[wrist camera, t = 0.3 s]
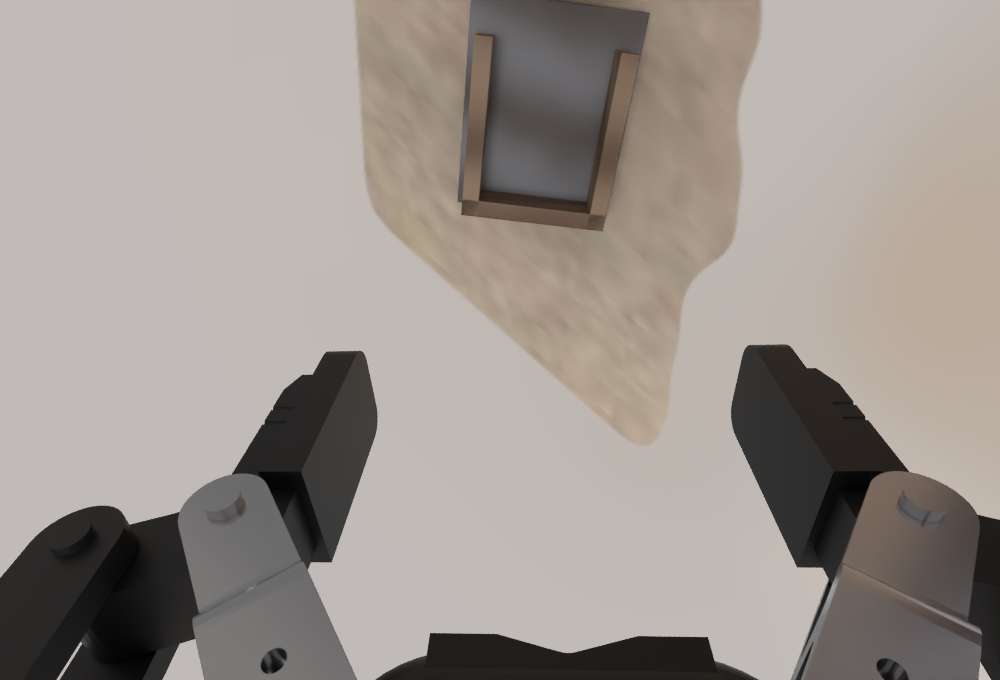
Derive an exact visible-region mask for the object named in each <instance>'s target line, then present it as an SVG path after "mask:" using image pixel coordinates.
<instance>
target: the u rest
mask: <svg viewBox="0 0 1000 680" xmlns="http://www.w3.org/2000/svg"><path fill="white" fill-rule="evenodd" d="M648 18H649V13H647V12H639V11H631V10H623V9H615V8H607V7H598V6H590V5H582V4H574V3H566V2H558V1H550V0H471V11H470V26H469V41H468V56H467V71H466V86H465V101H464V115H463V130H462V145H461V160H460V175H459V190H458V202H462V214H461V215H468V216H476V217H485V218H493V219H502V220H511V221H519V222H528V223H536V224H545V225H554V226H562V227H571V228H580V229H588V230H597V231H603V227H604V223H605V219H606V215H607V210H608V206H609V201H610V196H611V191H612V187H613V182H614V177H615V173H616V168H617V163H618V159H619V154H620V149H621V144H622V140H623V135H624V130H625V126H626V121H627V116H628V112H629V107H630V102H631V97H632V93H633V88H634V83H635V79H636V74H637V69H638V65H639V60H640V55H641V50H642V46H643V41H644V36H645V32H646V27H647V22H648Z"/></svg>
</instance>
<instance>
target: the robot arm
mask: <svg viewBox="0 0 1000 680" xmlns="http://www.w3.org/2000/svg"><path fill="white" fill-rule="evenodd" d="M731 418H732V425H733V430H734V433H735V435H736V438H737V440H738V442H739V444H740V446H741V448H742V450H743V453H744V455H745V457H746V459H747V461H748V463H749V465H750V467H751V469H752V472H753V474H754V476H755V478H756V480H757V482H758V484H759V487H760V489H761V491H762V493H763V495H764V497H765V500H766V502H767V504H768V506H769V508H770V510H771V512H772V514H773V517H774V519H775V521H776V523H777V525H778V527H779V529H780V532H781V533H782V536H783V538H784V540H785V542H786V544H787V546H788V549H789V551H790V553H791V555H792V557H793V559H794V561H795V564H796V566H797V567H821V568H823V569H824V571H825V573H826V575H827V577H828V578H829V580H828V582H827V584H826V586H825V589H824V591H823V594H822V597H821V599H820V602H819V605H818V607H817V610H816V613H815V616H814V618H813V621H812V624H811V627H810V629H809V632H808V635H807V638H806V640H805V643H804V646H803V648H802V651H801V654H800V657H799V659H798V662H797V665H796V668H795V670H794V673H793V675H792V678H791V680H978V677H979V667H980V662H981V664H982V665H983V667H984V668H985V670H986V672H987V673H988V675H989V677H990V678H991V680H1000V520H997V519H993V518H988V517H984V516H980V515H977V513H976V512H975V510H974V509H973V507H972V506H971V505H970V504H969V503H968V502H967V501H966V500H965V499H964V498H963V497H962V496H961V495H959V494H958V493H957V492H956V491H954V490H953V489H951V488H949V487H948V486H946V485H944V484H942V483H940V482H938V481H936V480H934V479H931V478H929V477H926V476H923V475H919V474H915V473H911V472H909V471H908V470H907V468H906V467H905V466H904V465H903V463H902V462H901V461H900V460H899V458H898V457H897V456H896V455H895V453H894V452H893V451H892V450H891V448H890V447H889V446H888V445H887V443H886V442H885V441H884V440H883V438H882V437H881V436H880V435H879V433H878V432H877V431H876V429H875V428H874V427H873V426H872V424H871V423H870V422H869V421H868V420H865V416H864V414H863V413H862V412H861V411H860V409H859V408H858V407H857V406H856V405H853V401H852V399H851V398H850V397H849V395H848V394H847V393H846V392H845V390H844V389H843V388H842V387H841V385H840V384H839V383H837V382H836V381H834V380H833V379H831V378H830V377H828V376H827V375H825V374H824V373H822V372H821V371H819V370H818V369H816V368H806V367H805V365H804V364H803V363H802V361H801V360H800V359H799V357H798V356H797V355H796V353H795V352H794V350H793V349H792V348H791V347H790V346H788V345H749V346H747V347H746V348H745V350H744V353H743V356H742V361H741V366H740V370H739V374H738V379H737V383H736V388H735V392H734V397H733V401H732V407H731ZM376 429H377V408H376V403H375V398H374V393H373V388H372V384H371V379H370V374H369V370H368V365H367V360H366V357H365V355H364V353H363V352H362V351H339V352H326V353H325V354H324V355H323V357H322V359H321V361H320V363H319V364H318V366H317V368H316V370H315V371H314V373H313V375H302V376H300V377H299V378H298V379H297V380H295V381H294V382H293V383H292V384H290V385H289V386H288V387H287V388H286V389H284V390H283V392H282V394H281V395H280V397H279V398H278V400H277V402H276V403H275V405H274V407H273V410H271V412H270V413H269V415H268V416H267V418H266V420H265V424H264V425H262V426H261V428H260V429H259V431H258V433H257V434H256V436H255V438H254V439H253V441H252V442H251V444H250V446H249V447H248V449H247V451H246V453H245V454H244V456H243V457H242V459H241V460H240V462H239V464H238V465H237V467H236V468H235V470H234V472H233V473H232V475H228V476H224V477H222V478H219V479H216V480H214V481H212V482H210V483H208V484H206V485H205V486H203V487H202V488H200V489H199V490H198V491H196V492H195V493H194V494H193V495H192V496H191V497H190V498H189V499H188V500H187V501H186V502H185V504H184V505H183V507H182V509H181V511H180V512H178V513H175V514H171V515H167V516H163V517H159V518H155V519H151V520H147V521H143V522H139V523H135V524H131V525H129V524H128V522H127V520H126V518H125V517H124V515H123V514H122V512H121V511H120V510H118V509H117V508H114V507H110V506H94V507H89V508H85V509H82V510H78V511H76V512H73V513H71V514H69V515H66V516H65V517H63V518H61V519H59V520H57V521H56V522H54V523H52V524H51V525H49V526H48V527H47V528H45V529H44V530H43V531H41V532H40V533H39V534H38V535H37V536H36V537H35V538H34V539H33V540H32V541H31V542H30V543H29V545H28V546H27V547H26V548H25V549H24V550H23V552H22V553H21V554H20V555H19V557H18V558H17V559H16V560H15V561H14V563H13V564H12V565H11V566H10V567H9V569H8V570H7V571H6V572H5V573H4V574H3V576H2V577H1V578H0V680H56V679H57V678H58V676H59V675H60V673H61V671H62V670H63V668H64V667H65V665H66V664H67V662H68V660H69V659H70V657H71V655H72V654H73V652H74V651H75V649H76V648H77V646H78V645H79V643H80V641H81V642H82V645H81V647H80V648H79V650H78V652H77V653H76V655H75V657H74V658H73V660H72V661H71V663H70V664H69V666H68V668H67V669H66V671H65V672H64V674H63V676H62V677H61V679H60V680H162V679H163V677H164V675H165V673H166V671H167V669H168V667H169V664H170V662H171V660H172V658H173V656H174V654H175V652H176V650H177V648H178V646H179V643H183V642H186V641H189V640H193V639H196V644H197V648H198V653H199V657H200V662H201V666H202V671H203V675H204V680H357V678H356V676H355V674H354V672H353V669H352V667H351V665H350V663H349V661H348V658H347V656H346V655H345V652H344V650H343V648H342V645H341V643H340V641H339V639H338V636H337V634H336V632H335V630H334V628H333V625H332V623H331V621H330V619H329V617H328V614H327V612H326V610H325V608H324V605H323V603H322V601H321V599H320V597H319V594H318V592H317V590H316V588H315V586H314V583H313V581H312V579H311V577H310V575H309V573H308V568H309V565H310V563H311V562H332V559H333V557H334V554H335V551H336V548H337V545H338V542H339V539H340V536H341V533H342V531H343V528H344V525H345V522H346V519H347V516H348V513H349V510H350V507H351V504H352V501H353V499H354V496H355V493H356V490H357V487H358V484H359V481H360V478H361V475H362V473H363V469H364V467H365V464H366V461H367V458H368V455H369V452H370V449H371V446H372V444H373V440H374V438H375V434H376ZM376 680H758V679H756V678H754V677H752V676H750V675H749V674H747V673H745V672H743V671H741V670H738V669H735V668H733V667H730V666H728V665H725V664H723V663H719V662H716V661H714V658H713V654H712V651H711V647H710V643H709V640H708V637H650V636H649V637H648V636H638V637H633V638H630V639H626V640H622V641H618V642H614V643H610V644H606V645H602V646H599V647H595V648H591V649H587V650H583V651H579V652H575V653H562V652H558V651H554V650H551V649H547V648H544V647H540V646H536V645H533V644H530V643H526V642H522V641H519V640H515V639H512V638H508V637H505V636H501V635H498V634H449V633H448V634H446V633H445V634H444V633H441V634H440V633H430V638H429V645H428V651H427V656H423V657H420V658H416V659H414V660H412V661H409V662H406V663H404V664H401V665H399V666H397V667H395V668H394V669H392V670H390V671H388V672H386V673H385V674H383V675H382V676H380V677H379V678H377V679H376Z"/></svg>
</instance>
